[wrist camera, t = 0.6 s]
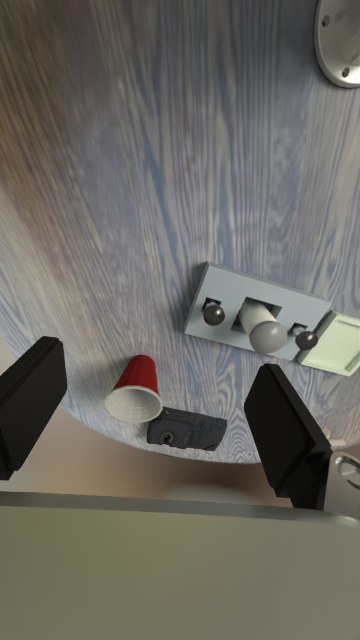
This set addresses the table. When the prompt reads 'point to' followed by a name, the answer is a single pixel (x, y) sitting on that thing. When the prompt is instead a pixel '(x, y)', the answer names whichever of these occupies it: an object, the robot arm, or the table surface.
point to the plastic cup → (135, 393)
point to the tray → (335, 345)
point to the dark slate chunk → (186, 430)
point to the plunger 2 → (303, 337)
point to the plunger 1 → (213, 313)
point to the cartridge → (261, 327)
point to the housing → (237, 285)
